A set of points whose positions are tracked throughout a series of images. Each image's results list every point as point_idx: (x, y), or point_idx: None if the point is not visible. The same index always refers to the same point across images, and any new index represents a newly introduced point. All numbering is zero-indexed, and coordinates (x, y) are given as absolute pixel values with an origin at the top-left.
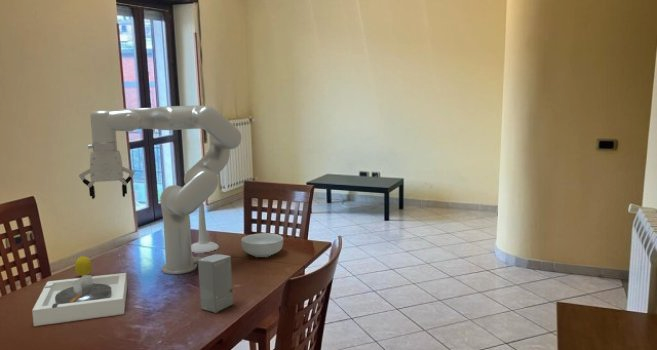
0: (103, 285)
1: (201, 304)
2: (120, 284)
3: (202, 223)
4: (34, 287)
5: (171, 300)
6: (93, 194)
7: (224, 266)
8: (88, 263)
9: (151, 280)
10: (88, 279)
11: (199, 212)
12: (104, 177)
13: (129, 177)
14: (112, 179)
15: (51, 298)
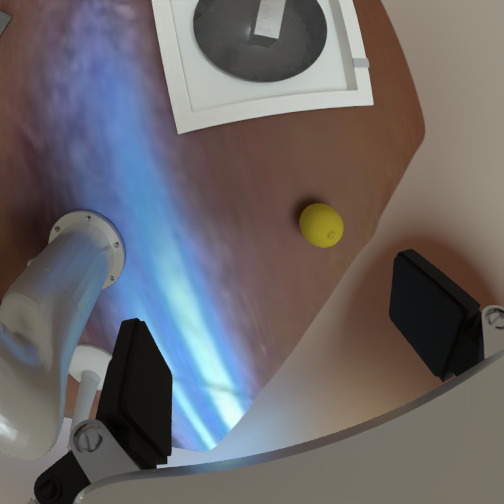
0: (224, 61)
1: (6, 14)
2: (170, 40)
3: (77, 408)
4: (394, 166)
5: (60, 45)
6: (420, 271)
7: None
8: (308, 219)
9: (128, 170)
10: (256, 17)
11: None
12: (428, 470)
13: (45, 500)
14: (237, 480)
15: (337, 45)
